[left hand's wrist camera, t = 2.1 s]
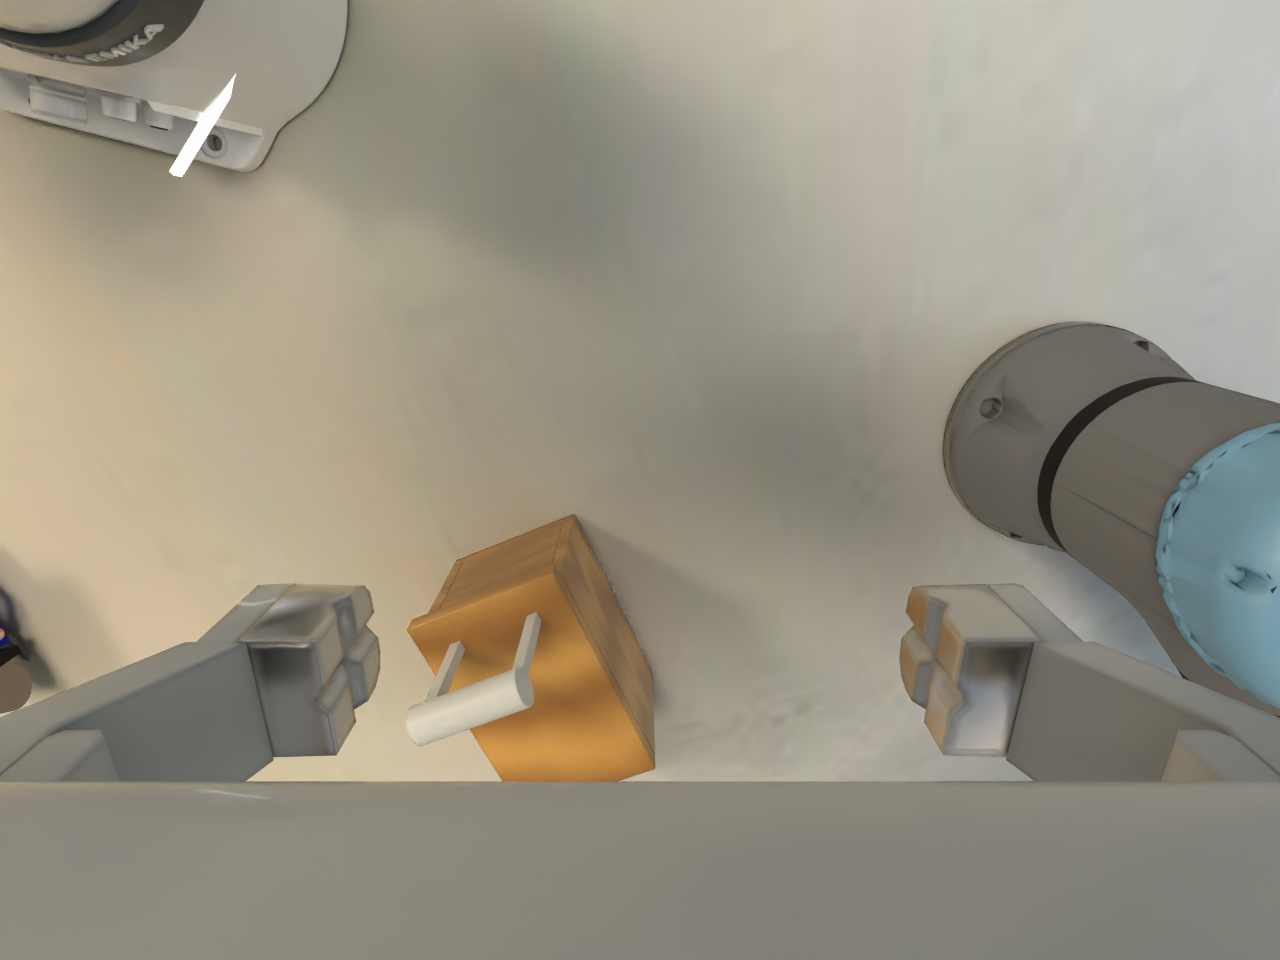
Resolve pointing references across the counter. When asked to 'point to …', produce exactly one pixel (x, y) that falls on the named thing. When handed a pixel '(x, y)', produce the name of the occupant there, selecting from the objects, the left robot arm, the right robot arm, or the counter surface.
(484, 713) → the lid
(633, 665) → the chest
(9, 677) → the figurine character
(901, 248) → the counter surface
